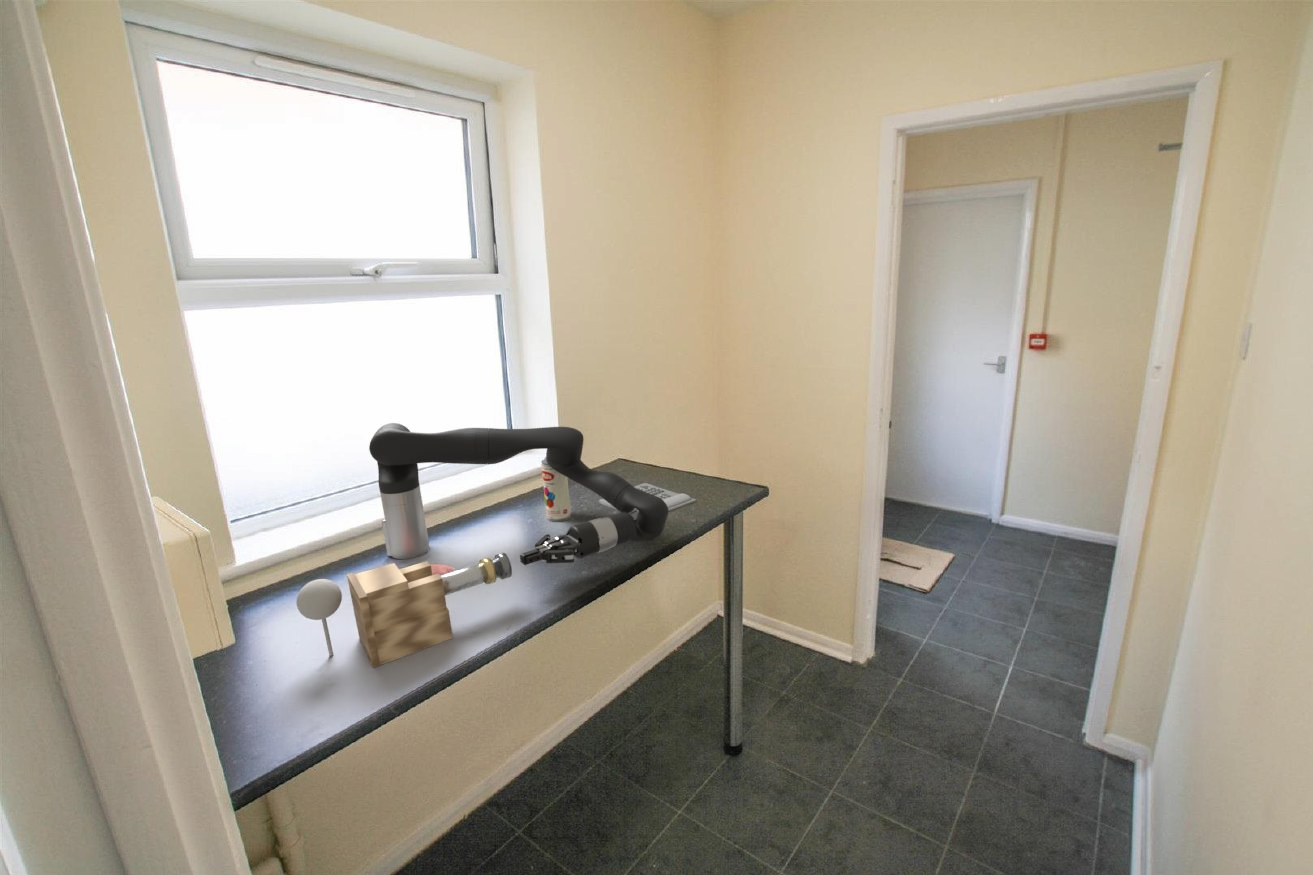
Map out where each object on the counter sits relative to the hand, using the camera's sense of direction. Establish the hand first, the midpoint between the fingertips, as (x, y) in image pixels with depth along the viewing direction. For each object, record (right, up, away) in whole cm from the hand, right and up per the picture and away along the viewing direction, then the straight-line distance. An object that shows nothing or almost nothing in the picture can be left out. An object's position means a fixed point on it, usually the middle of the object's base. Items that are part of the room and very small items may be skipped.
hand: (521, 559), depth 128 cm
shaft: (-10, -5, -6) cm, 12 cm away
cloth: (-29, -9, +10) cm, 32 cm away
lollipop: (-31, -15, -16) cm, 38 cm away
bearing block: (-19, -13, -12) cm, 26 cm away
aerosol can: (+1, +3, +45) cm, 46 cm away
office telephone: (+25, +6, +54) cm, 60 cm away
